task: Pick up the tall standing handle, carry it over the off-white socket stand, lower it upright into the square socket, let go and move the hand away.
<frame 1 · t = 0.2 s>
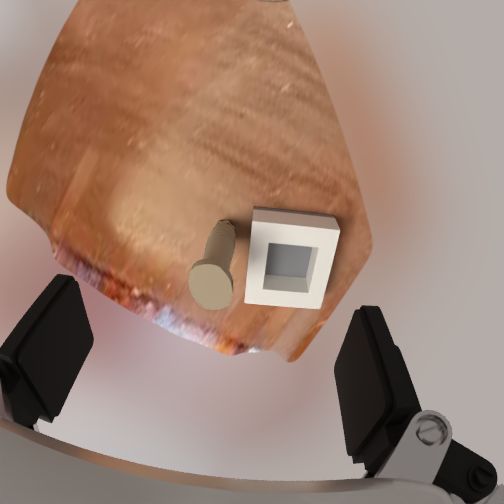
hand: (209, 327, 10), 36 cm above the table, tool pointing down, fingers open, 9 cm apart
handle: (225, 227, 49), on the table
socket stand: (287, 251, 51), on the table
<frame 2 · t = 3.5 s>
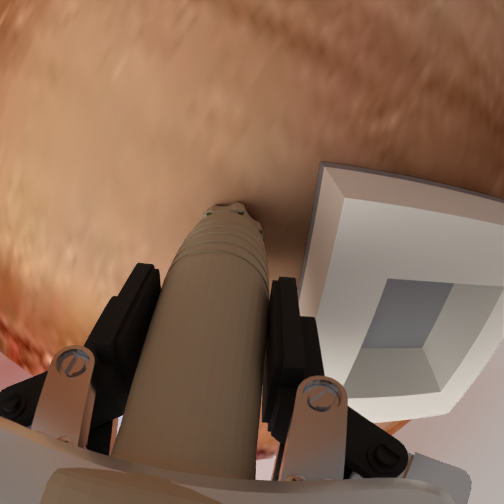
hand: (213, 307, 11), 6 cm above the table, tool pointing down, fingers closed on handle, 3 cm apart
handle: (230, 227, 17), on the table, touching gripper
socket stand: (394, 290, 18), on the table
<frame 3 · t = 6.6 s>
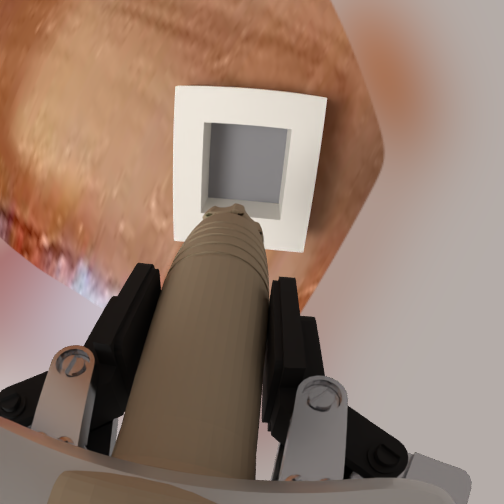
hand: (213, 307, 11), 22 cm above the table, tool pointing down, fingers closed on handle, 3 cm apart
handle: (230, 227, 17), point 16 cm above the table, touching gripper
socket stand: (246, 158, 31), on the table
when the fingers open (9 cm above the table, at t = 9.9 s): handle drops 1 cm, resting on socket stand.
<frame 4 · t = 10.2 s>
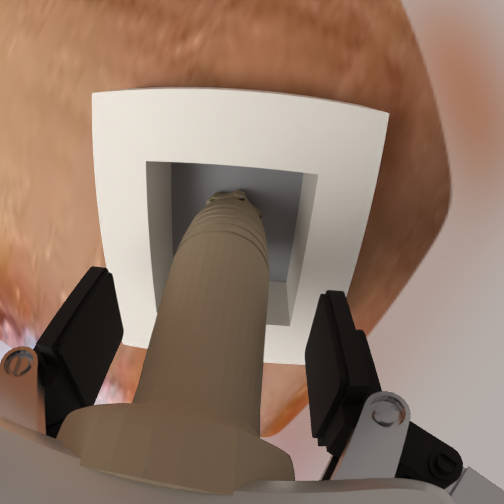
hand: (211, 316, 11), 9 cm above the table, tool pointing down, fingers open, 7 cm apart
handle: (232, 212, 18), point 1 cm above the table, touching socket stand
socket stand: (234, 210, 19), on the table
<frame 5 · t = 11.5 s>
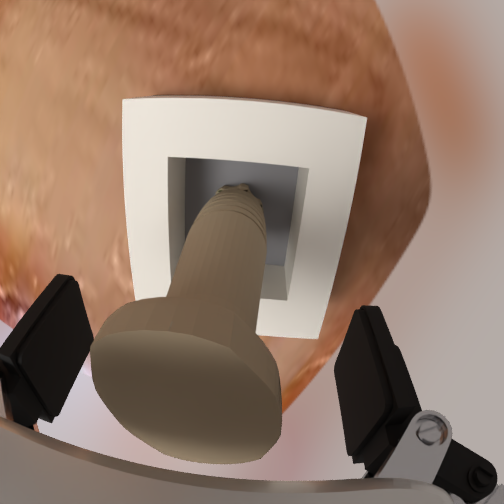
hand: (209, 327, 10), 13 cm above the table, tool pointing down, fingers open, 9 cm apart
handle: (237, 204, 21), point 1 cm above the table, touching socket stand
socket stand: (239, 202, 22), on the table
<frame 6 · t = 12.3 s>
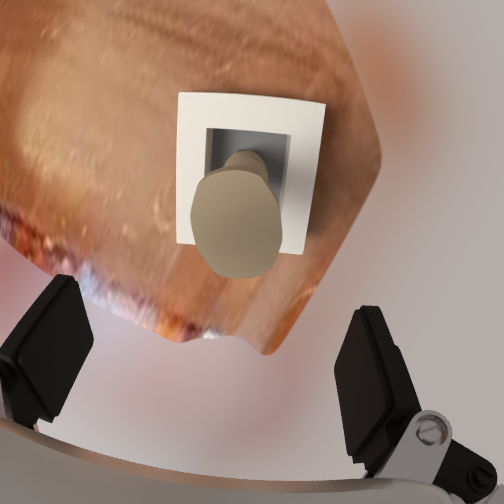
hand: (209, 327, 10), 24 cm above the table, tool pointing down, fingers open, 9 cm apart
handle: (246, 163, 31), point 1 cm above the table, touching socket stand
socket stand: (247, 163, 31), on the table
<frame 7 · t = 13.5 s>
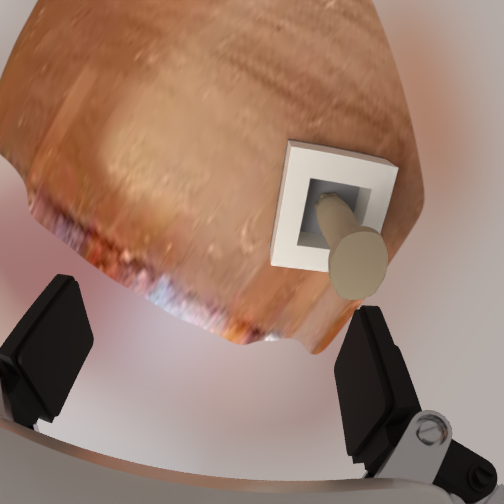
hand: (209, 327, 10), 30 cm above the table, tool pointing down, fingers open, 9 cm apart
handle: (327, 202, 38), point 1 cm above the table, touching socket stand
socket stand: (326, 202, 39), on the table
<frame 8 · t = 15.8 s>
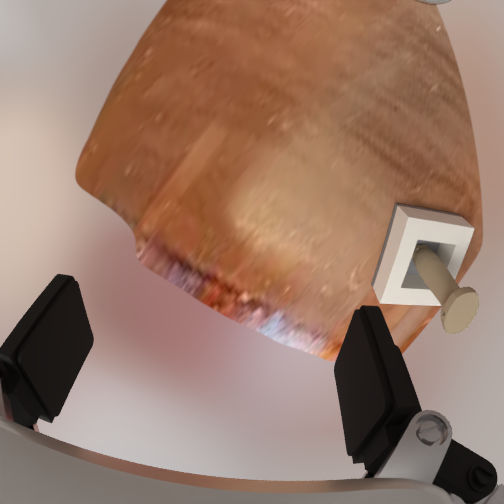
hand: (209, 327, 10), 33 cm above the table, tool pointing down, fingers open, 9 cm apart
handle: (418, 251, 45), point 1 cm above the table, touching socket stand
socket stand: (416, 249, 46), on the table
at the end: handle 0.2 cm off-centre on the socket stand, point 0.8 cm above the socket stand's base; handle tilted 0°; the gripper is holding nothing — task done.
